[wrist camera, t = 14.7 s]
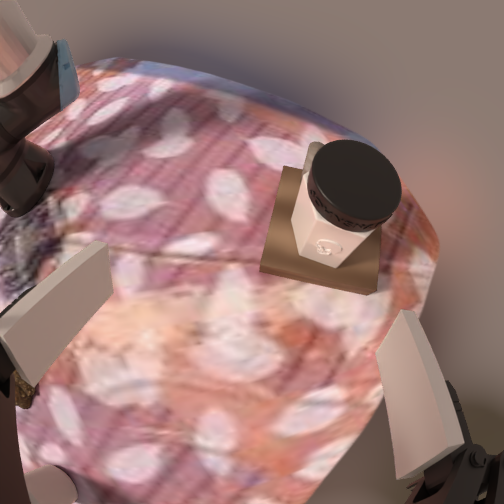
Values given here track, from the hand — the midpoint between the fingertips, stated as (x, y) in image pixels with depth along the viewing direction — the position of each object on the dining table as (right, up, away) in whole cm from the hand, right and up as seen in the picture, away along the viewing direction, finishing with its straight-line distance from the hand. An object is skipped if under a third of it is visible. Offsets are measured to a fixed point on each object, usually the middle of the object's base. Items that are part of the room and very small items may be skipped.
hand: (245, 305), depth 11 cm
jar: (+9, +4, +21) cm, 23 cm away
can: (-30, -35, +10) cm, 47 cm away
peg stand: (+10, +5, +24) cm, 26 cm away
